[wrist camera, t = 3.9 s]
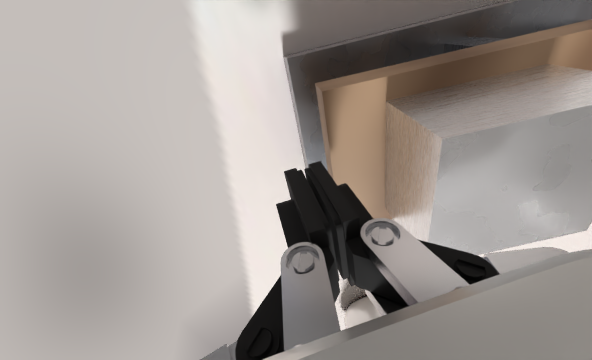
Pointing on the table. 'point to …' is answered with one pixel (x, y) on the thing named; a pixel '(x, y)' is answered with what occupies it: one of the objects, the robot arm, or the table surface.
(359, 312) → the plastic bottle
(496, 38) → the beam stand
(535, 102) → the block
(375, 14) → the table surface
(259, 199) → the table surface
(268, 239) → the table surface
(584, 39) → the balance beam
